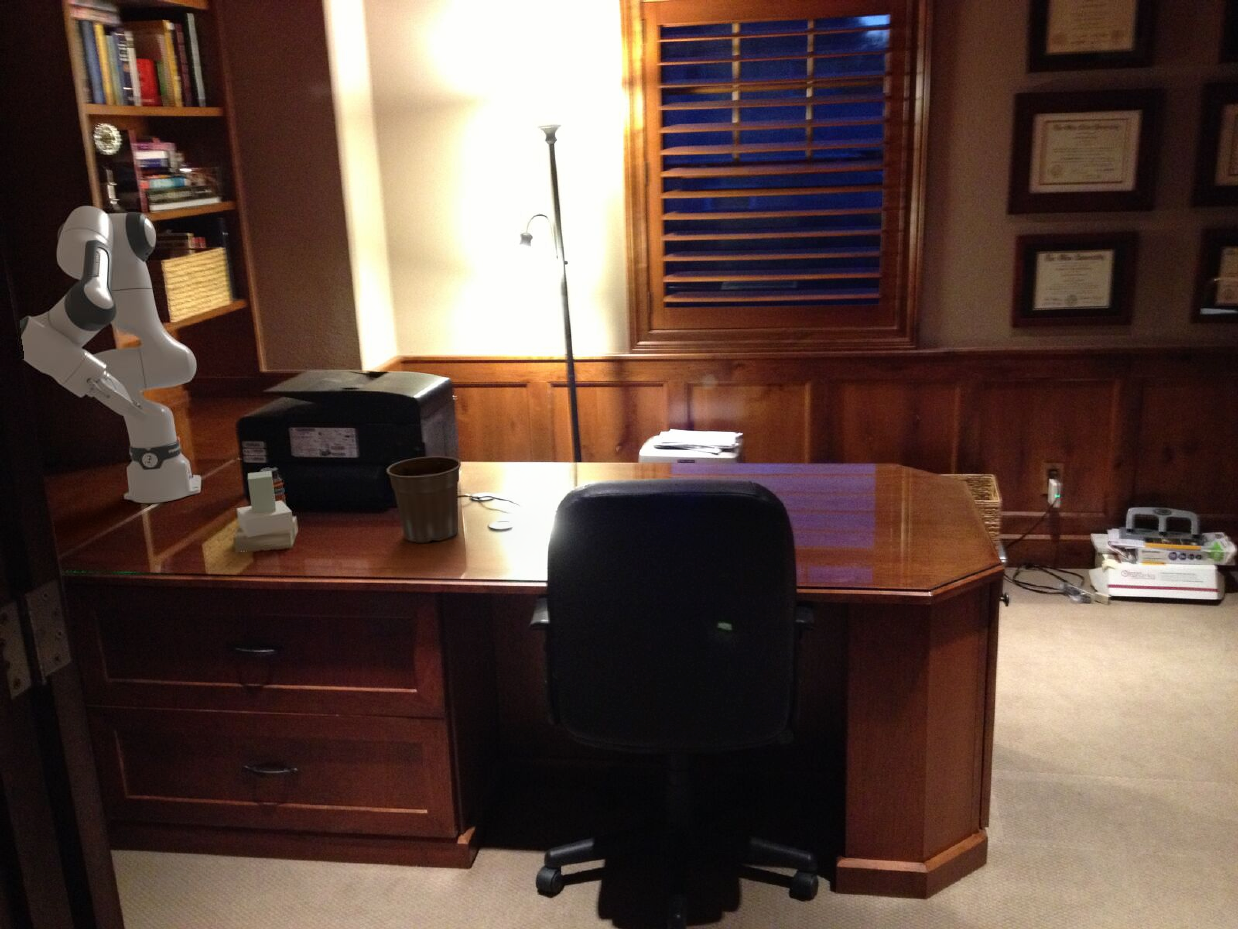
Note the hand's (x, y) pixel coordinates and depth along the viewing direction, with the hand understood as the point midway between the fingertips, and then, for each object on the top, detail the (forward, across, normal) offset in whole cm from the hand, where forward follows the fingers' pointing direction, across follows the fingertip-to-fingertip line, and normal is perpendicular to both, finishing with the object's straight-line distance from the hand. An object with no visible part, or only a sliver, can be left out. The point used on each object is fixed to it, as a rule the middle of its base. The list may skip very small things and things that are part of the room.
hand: (143, 414), depth 242 cm
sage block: (+31, -12, +1) cm, 33 cm away
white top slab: (+33, -12, +4) cm, 36 cm away
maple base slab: (+36, -12, +7) cm, 39 cm away
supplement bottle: (+40, +7, +3) cm, 41 cm away
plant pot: (+59, -29, -16) cm, 68 cm away
